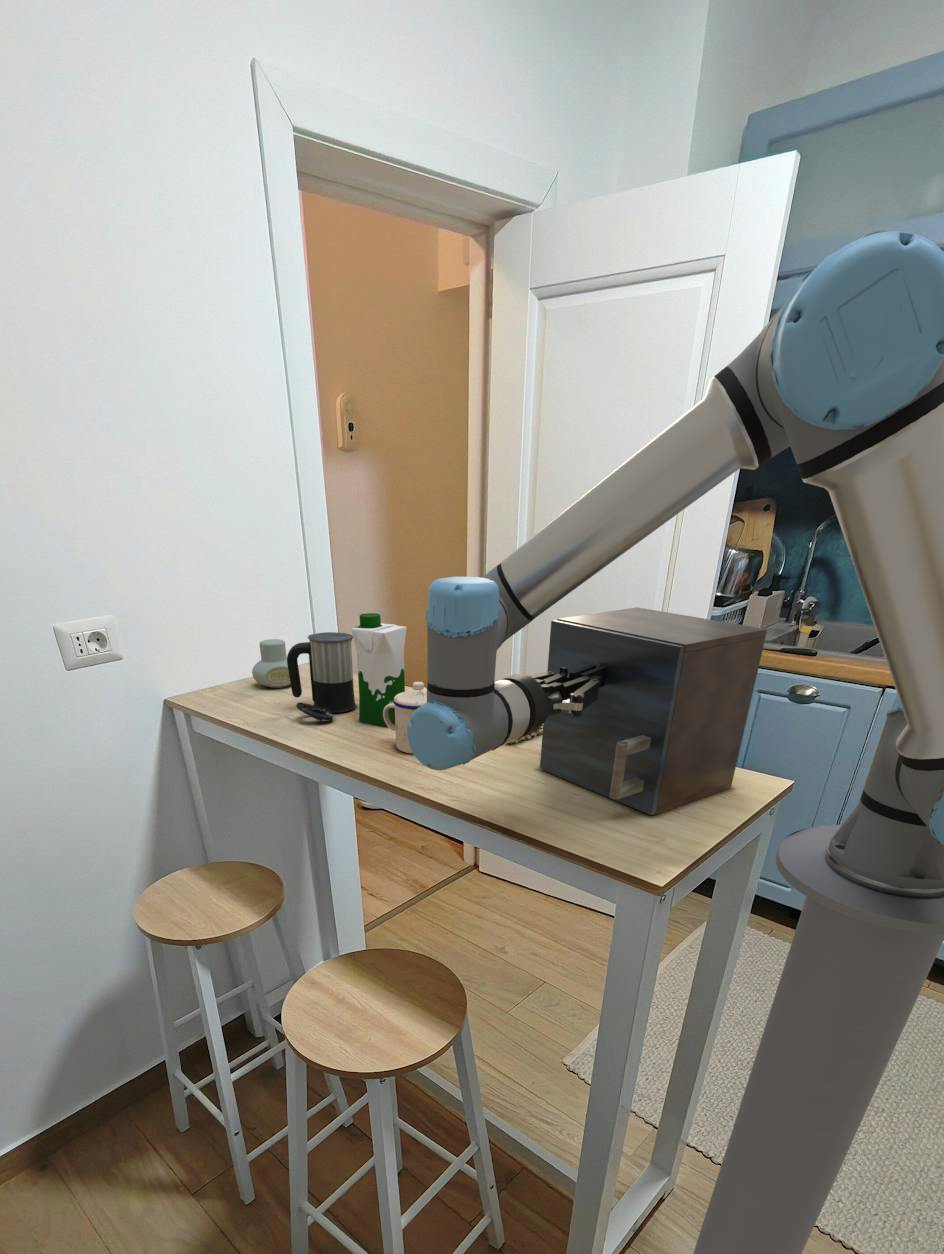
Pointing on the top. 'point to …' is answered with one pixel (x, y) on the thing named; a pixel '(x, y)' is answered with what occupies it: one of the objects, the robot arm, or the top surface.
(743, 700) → the cupboard
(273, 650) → the air freshener
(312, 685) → the milk frother
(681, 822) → the top surface
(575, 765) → the cupboard door
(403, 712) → the teacup with lid
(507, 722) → the robot arm
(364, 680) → the milk carton
